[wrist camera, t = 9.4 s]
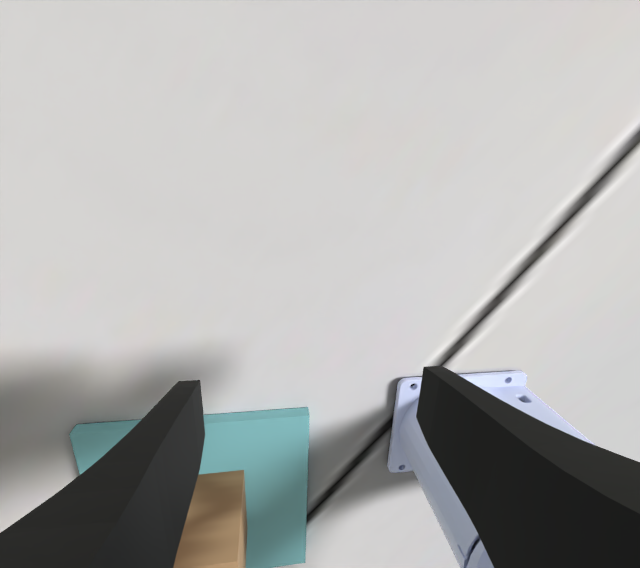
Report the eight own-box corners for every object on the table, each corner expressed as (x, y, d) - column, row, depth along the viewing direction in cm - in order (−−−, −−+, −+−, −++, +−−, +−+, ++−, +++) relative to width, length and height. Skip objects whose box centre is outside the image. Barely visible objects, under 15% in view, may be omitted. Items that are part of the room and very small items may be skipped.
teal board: (307, 407, 22) (309, 415, 21) (304, 551, 27) (305, 562, 26) (76, 424, 20) (69, 434, 19) (114, 578, 25) (110, 591, 24)
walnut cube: (244, 469, 22) (237, 561, 17) (247, 528, 24) (242, 627, 19) (155, 479, 21) (120, 578, 16) (166, 539, 23) (137, 645, 18)
